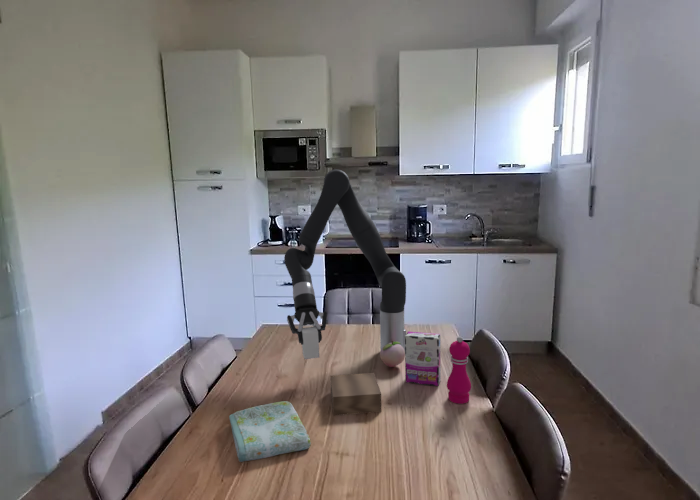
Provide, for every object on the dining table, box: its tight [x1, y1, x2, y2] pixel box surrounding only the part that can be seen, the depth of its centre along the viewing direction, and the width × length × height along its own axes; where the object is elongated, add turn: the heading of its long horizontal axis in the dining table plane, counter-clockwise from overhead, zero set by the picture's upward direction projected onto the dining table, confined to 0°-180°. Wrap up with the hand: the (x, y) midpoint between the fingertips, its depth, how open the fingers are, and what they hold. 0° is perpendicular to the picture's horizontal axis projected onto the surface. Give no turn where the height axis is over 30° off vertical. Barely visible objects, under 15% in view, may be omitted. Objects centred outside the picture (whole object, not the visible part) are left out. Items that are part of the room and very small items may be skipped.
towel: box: [228, 400, 312, 463], centre depth 120 cm, size 18×21×5 cm
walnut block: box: [329, 372, 382, 416], centre depth 137 cm, size 14×14×6 cm
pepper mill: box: [446, 336, 472, 405], centre depth 136 cm, size 7×7×20 cm
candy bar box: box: [404, 331, 442, 387], centre depth 148 cm, size 11×5×16 cm, turn 71°
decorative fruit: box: [379, 341, 405, 368], centre depth 160 cm, size 9×8×10 cm
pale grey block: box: [301, 326, 320, 360], centre depth 149 cm, size 5×5×9 cm
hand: (310, 342), depth 147 cm, fingers closed on pale grey block, 5 cm apart
